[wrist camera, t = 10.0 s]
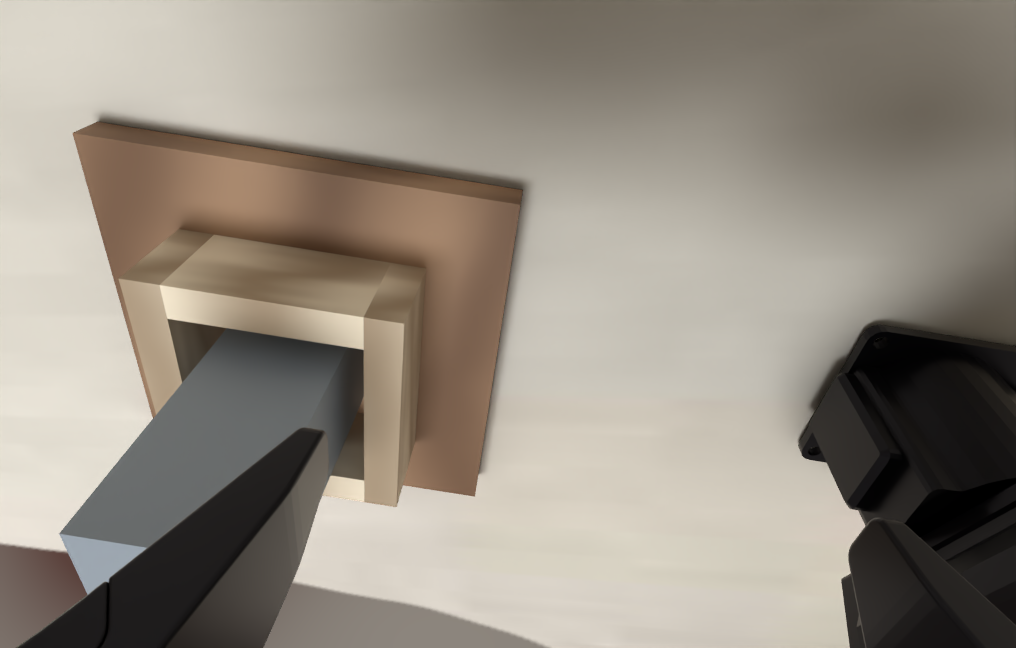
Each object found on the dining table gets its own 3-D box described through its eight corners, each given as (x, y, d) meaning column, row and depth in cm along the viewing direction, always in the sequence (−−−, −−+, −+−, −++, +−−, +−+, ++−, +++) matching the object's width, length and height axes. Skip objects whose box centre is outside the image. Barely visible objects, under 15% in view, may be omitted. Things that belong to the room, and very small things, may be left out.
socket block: (522, 189, 20) (512, 255, 16) (478, 475, 28) (464, 562, 24) (97, 121, 20) (-12, 171, 16) (175, 428, 28) (115, 508, 24)
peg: (364, 313, 22) (238, 562, 13) (363, 396, 24) (256, 651, 16) (253, 295, 22) (59, 533, 13) (263, 380, 24) (103, 627, 16)
